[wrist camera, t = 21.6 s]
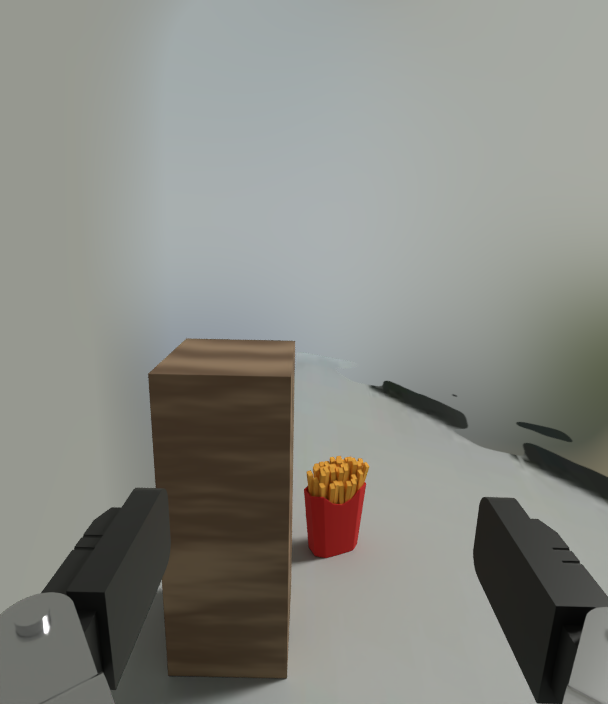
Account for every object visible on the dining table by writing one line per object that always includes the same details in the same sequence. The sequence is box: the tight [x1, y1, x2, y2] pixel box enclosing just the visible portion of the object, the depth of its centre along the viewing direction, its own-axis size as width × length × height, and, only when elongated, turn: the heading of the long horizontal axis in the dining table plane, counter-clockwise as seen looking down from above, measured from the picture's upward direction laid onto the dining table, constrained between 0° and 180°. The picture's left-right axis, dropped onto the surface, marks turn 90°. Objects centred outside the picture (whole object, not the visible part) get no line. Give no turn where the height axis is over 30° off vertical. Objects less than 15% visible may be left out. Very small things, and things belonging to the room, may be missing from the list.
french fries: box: [304, 456, 369, 558], centre depth 66 cm, size 9×4×13 cm, turn 115°
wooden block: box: [148, 339, 295, 678], centre depth 50 cm, size 13×12×32 cm
